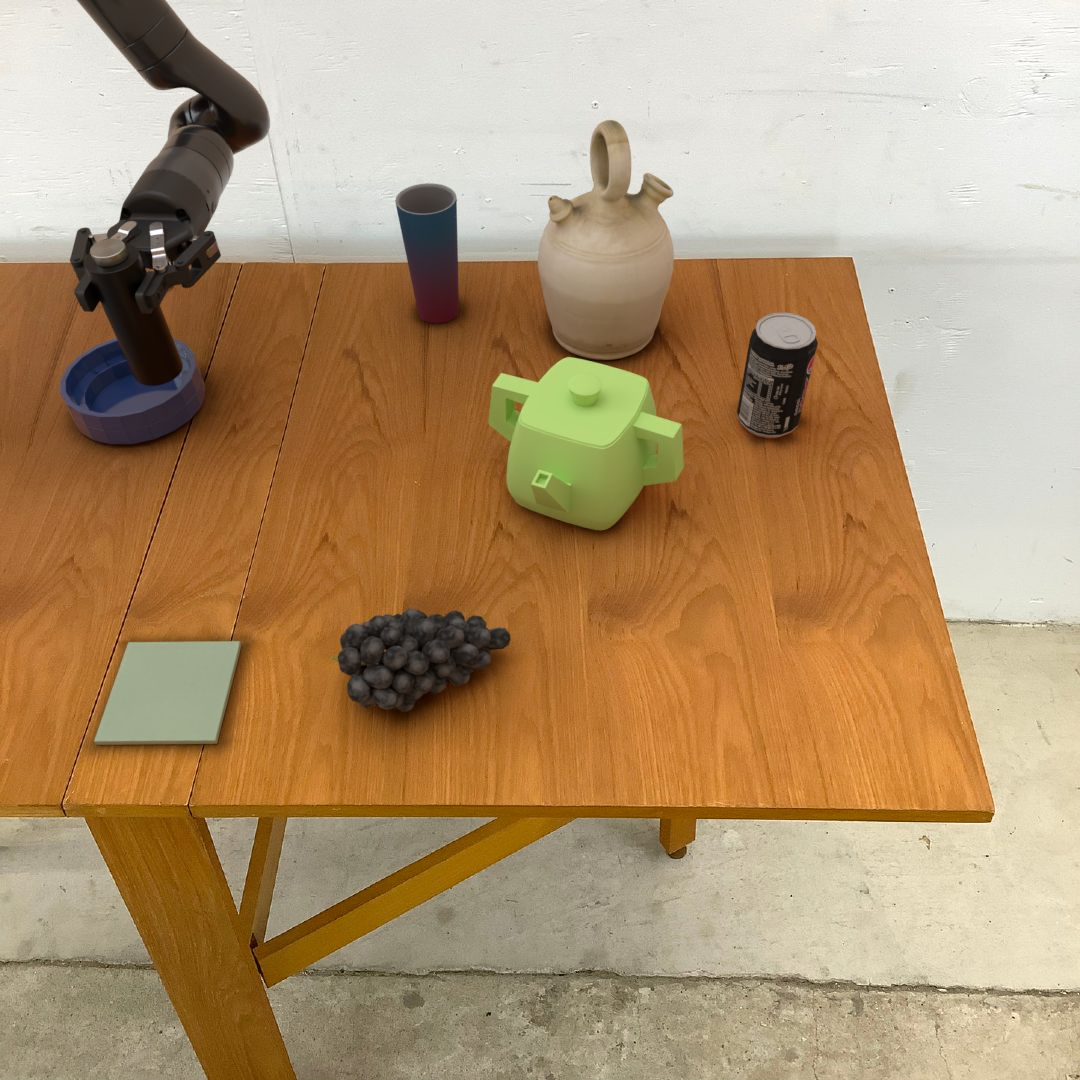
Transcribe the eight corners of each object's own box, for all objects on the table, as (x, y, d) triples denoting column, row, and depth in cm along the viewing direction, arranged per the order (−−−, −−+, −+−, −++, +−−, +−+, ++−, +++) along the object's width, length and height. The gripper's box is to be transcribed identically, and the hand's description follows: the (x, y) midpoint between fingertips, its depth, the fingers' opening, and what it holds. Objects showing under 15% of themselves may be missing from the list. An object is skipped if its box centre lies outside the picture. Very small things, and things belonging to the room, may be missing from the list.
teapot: (634, 592, 90) (643, 493, 81) (444, 528, 96) (430, 427, 86) (699, 466, 101) (713, 365, 92) (524, 414, 107) (521, 314, 98)
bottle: (126, 385, 96) (70, 262, 86) (143, 353, 99) (91, 231, 89) (174, 387, 96) (123, 264, 85) (189, 355, 99) (142, 233, 88)
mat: (96, 745, 81) (93, 741, 80) (130, 645, 87) (127, 641, 87) (217, 744, 80) (215, 740, 80) (242, 644, 87) (240, 640, 87)
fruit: (501, 568, 81) (318, 612, 77) (530, 661, 78) (341, 711, 74) (495, 605, 88) (328, 646, 85) (520, 691, 85) (349, 737, 82)
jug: (662, 291, 122) (680, 89, 104) (671, 369, 112) (693, 160, 93) (540, 292, 123) (536, 90, 104) (537, 369, 112) (532, 161, 94)
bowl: (57, 449, 105) (40, 417, 101) (97, 366, 114) (83, 334, 111) (189, 447, 105) (177, 415, 101) (219, 364, 114) (208, 332, 111)
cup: (447, 289, 124) (435, 177, 112) (477, 314, 120) (468, 201, 109) (400, 308, 121) (383, 195, 110) (429, 335, 117) (415, 221, 106)
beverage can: (783, 396, 108) (803, 305, 100) (808, 436, 104) (831, 344, 95) (726, 407, 108) (741, 315, 99) (750, 447, 103) (767, 355, 94)
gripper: (91, 165, 97) (18, 267, 86) (233, 168, 96) (177, 271, 85) (119, 233, 103) (53, 335, 92) (252, 236, 101) (202, 340, 91)
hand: (113, 304), depth 88 cm, fingers closed on bottle, 5 cm apart
